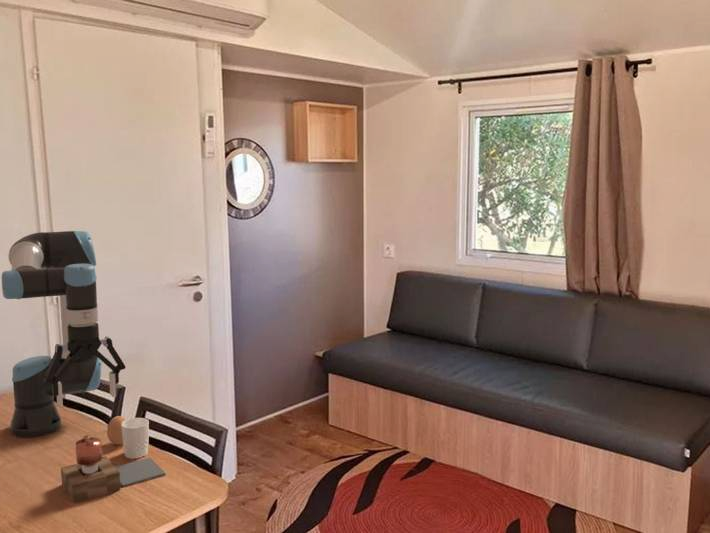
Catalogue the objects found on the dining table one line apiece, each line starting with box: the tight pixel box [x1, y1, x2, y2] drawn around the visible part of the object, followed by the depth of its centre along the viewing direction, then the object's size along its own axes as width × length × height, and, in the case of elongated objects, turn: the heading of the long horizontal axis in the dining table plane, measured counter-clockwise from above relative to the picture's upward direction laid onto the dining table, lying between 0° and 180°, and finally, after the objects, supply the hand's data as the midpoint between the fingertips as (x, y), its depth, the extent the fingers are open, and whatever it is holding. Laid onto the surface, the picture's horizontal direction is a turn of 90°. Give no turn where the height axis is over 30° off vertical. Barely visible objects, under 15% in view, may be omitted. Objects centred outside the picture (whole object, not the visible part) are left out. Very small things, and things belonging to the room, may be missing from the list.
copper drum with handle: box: [75, 434, 103, 476], centre depth 179 cm, size 6×6×14 cm
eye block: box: [60, 455, 121, 504], centre depth 180 cm, size 12×12×5 cm
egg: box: [106, 415, 126, 446], centre depth 206 cm, size 7×7×9 cm
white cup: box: [121, 417, 150, 459], centre depth 200 cm, size 8×8×10 cm
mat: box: [115, 457, 166, 488], centre depth 189 cm, size 12×12×1 cm
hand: (87, 401), depth 176 cm, fingers open, 13 cm apart
